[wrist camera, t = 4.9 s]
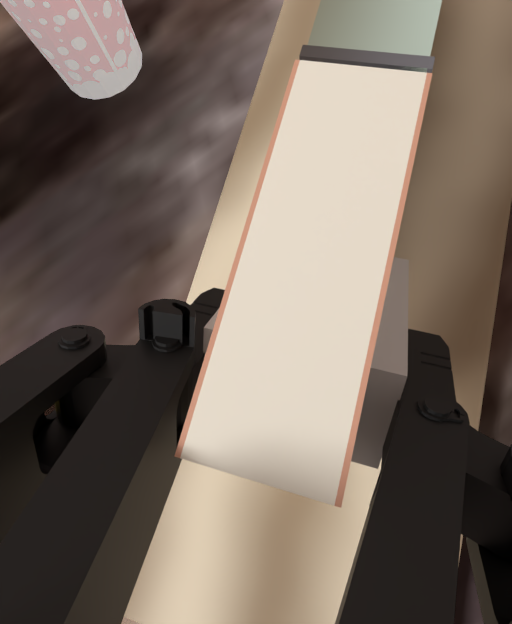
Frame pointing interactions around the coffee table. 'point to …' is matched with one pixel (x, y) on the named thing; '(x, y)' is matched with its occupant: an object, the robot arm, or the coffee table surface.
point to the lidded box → (309, 282)
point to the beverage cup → (82, 42)
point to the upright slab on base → (421, 302)
